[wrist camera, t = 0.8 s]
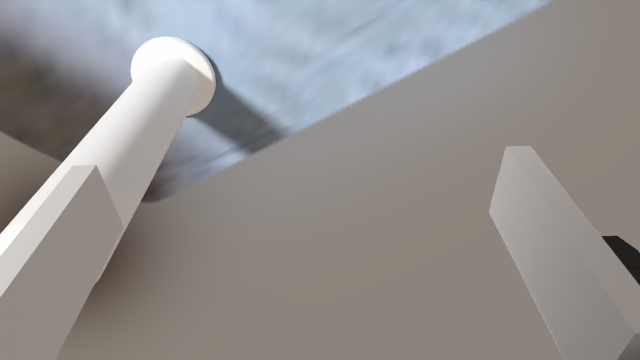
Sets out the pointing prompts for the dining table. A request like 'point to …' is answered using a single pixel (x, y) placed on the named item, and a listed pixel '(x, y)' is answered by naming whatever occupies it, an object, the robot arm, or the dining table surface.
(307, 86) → the dining table surface
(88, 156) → the candle
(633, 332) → the robot arm
